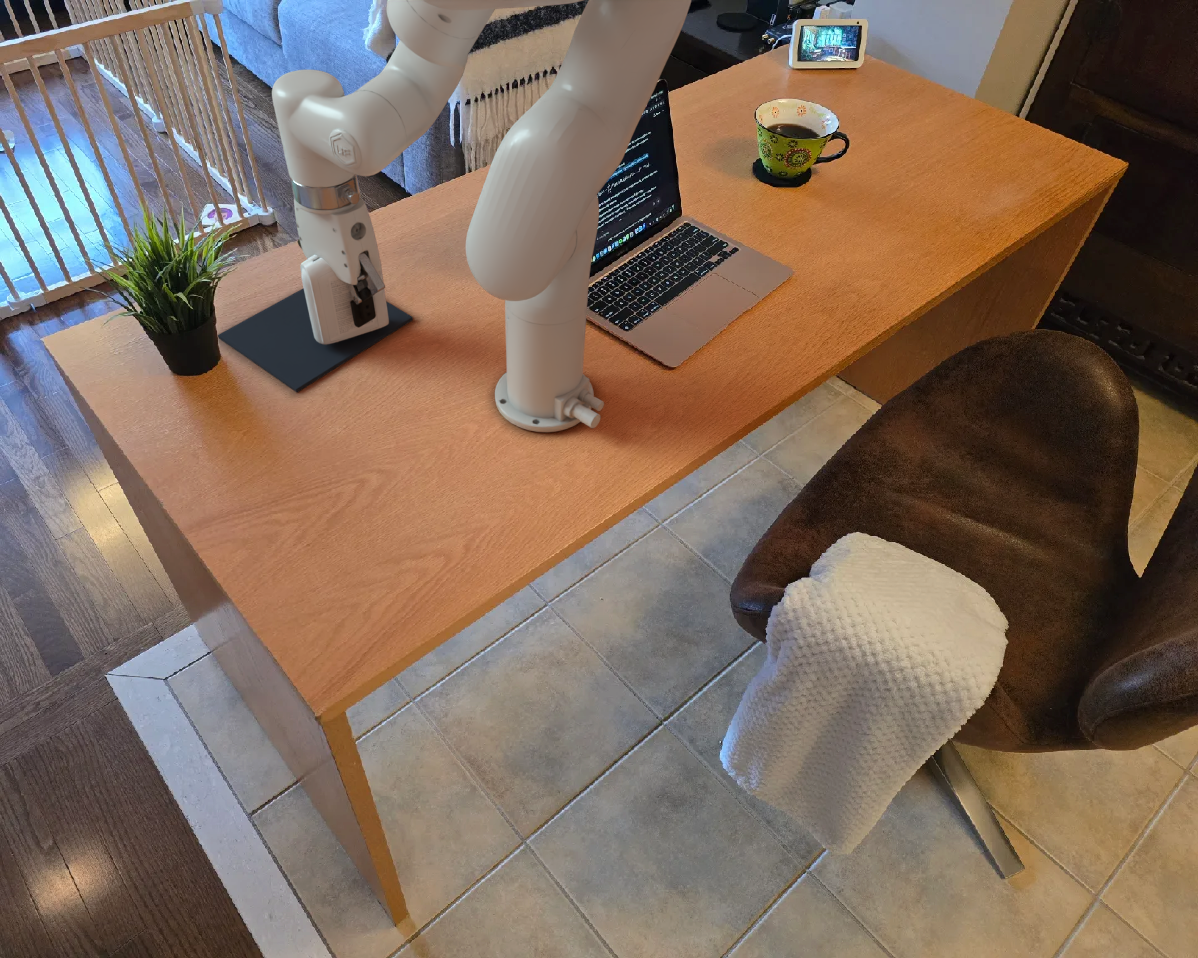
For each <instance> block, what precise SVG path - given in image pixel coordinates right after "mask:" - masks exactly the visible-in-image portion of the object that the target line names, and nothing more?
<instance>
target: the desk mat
mask: <svg viewBox="0 0 1198 958" xmlns="http://www.w3.org/2000/svg"><path fill="white" fill-rule="evenodd" d="M386 304H387V311H388V318H389V324H388V325H386V326H384V327H382V328H379V329H376V330H373V331H370V332H367V333H364V334H361V335H358V336H354V337H351V338H348V339H345V340H342V341H339V342H335V343H331V344H321V343H319V342H317V341H316V339H315V338H314V334H313V329H312V325H311V320H310V315H309V311H308V306H307V301H306V297H305V292H304V287H303V288H301V289H300V290H298V291H297V290H296V292H294V293H292V294H290V295H288V296H287V297H285V298H283V299H281V300H279V301H278V302H275V303H274V304H272V305H270V306H269V307H266V308H265V309H262V310H261V311H259V312H257V313H255V314H254V315H252V316H249V317H248V318H246V319H244V320H243V321H241V322H239V323H237V324H235V325H234V326H232V327H229V328H228V329H226V330H224V331H222V332H221V333H219V334H217V337H218V339H219V340H220V341H222V342H223V343H225V344H226V345H227V346H228V347H230V348H232V349H233V350H235V351H236V352H238V353H239V354H241V355H242V356H244V357H245V358H246V359H248V360H249V361H251V362H252V363H253V364H255V365H256V366H258V367H259V368H261V369H262V370H264V371H265V372H266V373H268V374H270V375H271V376H272V377H273V378H275V379H277V380H278V381H280V383H282V384H284V385H285V386H286V387H288V388H289V389H291V390H292V391H294V392H295V393H299V392H301V391H302V390H303V389H305V388H307V387H308V386H310V385H312V384H313V383H315V382H317V381H318V380H321V378H323V377H324V376H326V375H328V374H329V373H331V372H333V371H334V370H336V369H337V368H339V367H341V366H342V365H344V364H345V363H347V362H349V361H350V360H352V359H354V358H355V357H356V356H358V355H360V354H361V353H363V352H364V351H366V350H368V349H369V348H371V347H372V346H374V345H376V344H377V343H379V342H380V341H382V340H384V339H385V338H387V337H388V336H390V335H391V334H394V333H395V332H397V331H398V330H400V329H402V328H403V327H405V326H406V325H408V324H410V323H411V322H412V321H414V316H412V315H410V314H408V313H407V312H406V311H404V310H402V309H400V308H399V307H397V306H396V305H394V304H392V303H390V302H388V301H387V300H386Z"/></svg>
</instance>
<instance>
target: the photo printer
mask: <svg viewBox="0 0 1198 958" xmlns="http://www.w3.org/2000/svg"><path fill="white" fill-rule="evenodd" d="M380 261H381V262H382V260H381V259H380ZM299 267H300V274H301V276H300V277H301V282H302V287H303V288H304V292H305V297H306V301H307V306H308V311H309V315H310V320H311V325H312V329H313V334H314V338H315V339H316V341H317V342H319V343H321V344H331V343H335V342H339V341H342V340H345V339H348V338H351V337H354V336H358V335H361V334H364V333H367V332H370V331H373V330H376V329H379V328H382V327H384V326H386V325H388V324H389V318H388V311H387V304H386V301H387V298H386V290H385V289H386V288H384V289H382V290H381V291H379V292H377V293H376V294H375V295H373V301H374V307H375V313H376V317H375V318H374V319H373V320H371V321H369V322H368V323H366V324H364V325H363V326H361V327H359V328H358V327H356V326H355V325H354V321H353V315H352V310H351V305H350V302H351V301H352V300H353V298H352V296H351V293H350V291H349V288H348V286H347V283H346V282H344V281H342V280H340V279H338V278H337V277H336V275H335V273H334V272H333V270H332V269H331V267H330V266H329V265H328V263H327V262H326V261H325V260H324V259H322V258H319V257H318V256H317V255H314V256H312V257H310V258H308V259H307V258H306V260H304V261H303V262H301V263H300V265H299ZM360 273H361V271H360ZM378 274H379V276H380V278H381V279H382V281H383V283H384V284H385V282H384V275H383V267H382V266H381V271H380V272H378ZM357 288H358V291H361V290H362V289H363V288H365V287H364V284H363V282H362V281H360V282H358V284H357Z"/></svg>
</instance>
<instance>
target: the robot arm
mask: <svg viewBox="0 0 1198 958" xmlns="http://www.w3.org/2000/svg"><path fill="white" fill-rule="evenodd" d="M583 1H584V0H387V1H386V16H387V19H388V22H389V24H390V27H391V29H392V31H393V33H394V34H395V36H396V37H397V38H398V39H399V41H398V43H397V45H396V47H395V49H394V50H393V52H392V54H391V57H390V58H389V59H388V62H387V63H386V65H385V66H384V68H383V69H382V71H381V72H380V73H378V74H377V75H376V76H374V77H373V78H371V79H370V80H368V81H367V82H366V83H364V84H363V85H362V86H361V87H359V88H357V89H356V90H354V91H353V92H351V93H349V94H347V95H345V90H344V88H343V85H342V83H341V82H340V81H339V80H338V79H337V78H336V76H334V75H332V74H330V73H328V72H326V71H324V70H320V69H319V70H318V69H298V70H293V71H289V72H287V73H284V74H282V75H281V76H280V77H278V78H277V79H276V80H275V81H274V83H273V85H272V89H271V98H272V104H273V109H274V113H275V119H276V122H277V126H278V131H279V135H280V140H281V145H282V149H283V154H284V158H285V163H286V167H287V172H288V177H289V181H290V186H291V191H292V195H293V205H294V206H293V207H294V217H295V224H296V229H297V235H298V240H297V245H298V247H299V248H300V250H301V251H302V253H303V256H305V258H306V260H307V259H308V258H310V257H312V256H314V255H317V256H318V257H319V258H322V259H324V260H325V261H326V262H327V263H328V265H329V266H330V267H331V269H332V270H333V272H334V273H335V275H336V277H337V278H338V279H340V280H342V281H344V282H346V283H347V286H348V288H349V291H350V293H351V296H352V298H353V300H352V301H351V302H350V305H351V310H352V315H353V321H354V325H355V326H356V327H358V328H359V327H361V326H363V325H364V324H366V323H368V322H369V321H371V320H373V319H374V318H375V317H376V313H375V307H374V301H373V295H375V294H376V293H377V292H379V291H381V290H382V289H386V285H385V282H384V283H383V281H384V280H383V281H382V279H381V278H380V276H379V274H378V272H380V271H381V267H382V260H381V256H380V251H379V247H378V246H379V245H378V242H377V238H376V233H375V230H374V225H373V222H372V219H371V216H370V212H369V210H368V208H367V204H366V202H365V200H363V198H361V189H360V183H359V177H358V176H360V177H370V176H374V175H376V174H378V173H380V172H381V171H383V170H384V169H385V168H386V167H388V166H389V165H390V164H391V163H393V161H395V160H396V159H397V158H398V157H399V156H401V155H402V153H404V152H405V151H406V150H407V149H408V148H410V147H411V146H412V145H413V144H414V143H416V141H417V140H419V139H421V138H422V136H424V135H425V134H426V133H427V132H428V131H429V130H430V129H431V127H432V126H433V125H434V124H435V122H436V120H437V118H439V116H440V115H441V113H442V111H443V110H444V108H446V107H445V106H447V103H448V102H449V101H450V99H451V97H452V96H453V95H454V92H455V90H456V89H457V87H458V85H459V84H460V82H461V80H462V78H463V76H464V73H465V69H466V66H467V63H468V60H469V58H468V57H469V53H470V51H471V50H472V48H473V46H474V45H475V43H476V42H477V40H478V39H479V36H480V35H481V33H482V32H483V30H484V29H485V27H486V25H487V24H488V22H489V21H490V19H491V17H492V15H493V14H494V12H495V11H496V10H500V9H501V10H502V9H516V8H517V9H518V8H531V7H534V8H535V7H547V6H549V7H550V6H559V5H569V4H574V3H579V2H583ZM691 3H692V0H588V1H587V4H586V5H585V7H584V8H583V11H582V13H581V15H580V17H579V19H578V21H577V24H576V26H575V29H574V32H573V34H572V37H571V40H570V43H569V46H568V48H567V51H566V53H565V55H564V57H563V61H562V63H561V65H560V68H559V70H558V72H557V74H556V76H555V77H554V80H553V82H552V83H551V86H549V88H548V89H547V90H546V91H545V92H544V93H543V94H542V95H541V96H540V98H538V99H537V100H536V102H534V104H533V105H532V106H531V107H530V108H529V109H527V110H526V111H525V112H524V113H523V114H522V115H521V116H520V117H519V118H518V119H517V120H516V122H514V123H513V125H512V126H511V127H510V129H508V130H507V133H506V134H505V136H504V137H503V139H502V140H501V142H500V144H499V146H498V147H497V150H496V152H495V153H494V156H493V158H492V162H491V164H490V166H489V169H488V172H487V175H486V178H485V181H484V183H483V186H482V188H481V192H480V194H479V197H478V200H477V202H476V206H475V208H474V211H473V215H472V217H471V219H470V222H469V225H468V229H467V232H466V238H465V256H466V262H467V264H468V267H469V271H470V272H471V274H472V276H473V278H474V280H475V281H476V282H477V284H478V286H480V287H481V289H483V291H485V292H486V293H488V294H489V295H491V296H493V297H494V298H496V299H500V300H502V301H504V318H505V319H504V325H505V359H506V360H505V361H506V372H505V373H504V374H502V376H500V378H499V379H498V381H497V383H496V385H495V389H494V401H495V405H496V408H497V410H498V411H499V414H501V416H502V417H503V418H504V419H505V420H507V421H508V422H509V423H510V424H512V425H514V426H516V427H518V428H520V429H523V430H527V431H532V432H536V433H554V432H561V431H563V430H567V429H570V428H572V427H574V426H577V424H580V423H582V424H584V425H585V426H587V427H588V428H591V429H595V428H596V427H597V426H598V425H599V424H600V421H601V418H602V417H601V414H599V413H597V412H600V411H602V409H603V408H604V407H605V402H604V401H603V400H602V399H600V398H598V397H596V396H595V395H594V394H595V393H594V388H593V385H592V382H591V381H590V380H591V379H590V378H589V377H587V376H586V375H585V374H584V363H585V362H584V361H585V346H586V331H587V330H586V329H587V315H588V314H587V313H588V312H587V311H588V300H589V287H590V286H589V285H590V273H591V266H592V259H593V254H594V249H595V246H596V245H595V244H596V238H597V235H598V234H597V233H598V229H599V228H598V227H599V220H600V219H599V218H600V205H599V198H598V194H599V193H600V191H601V190H602V189H603V188H604V186H605V184H606V183H607V182H608V181H609V179H611V177H612V176H613V174H614V173H615V172H616V170H617V168H618V167H619V166H620V165H621V163H622V161H623V160H624V157H625V154H626V152H627V149H628V147H629V145H630V142H631V140H632V137H633V135H634V133H635V131H636V128H637V126H638V124H639V122H640V120H641V118H642V116H643V114H644V112H645V109H646V108H647V105H648V103H649V101H650V99H651V98H652V95H653V93H654V91H655V90H656V86H657V85H658V81H659V80H660V77H661V75H662V72H663V71H664V68H665V66H666V64H667V62H668V60H669V58H670V55H671V53H672V51H673V49H674V47H675V45H676V42H677V40H678V38H679V36H680V33H681V30H682V29H683V26H684V24H685V21H686V19H687V16H688V12H689V10H690V7H691ZM380 260H381V261H380ZM360 271H361V273H360ZM360 281H362V282H363V284H364V287H365V288H363V289H362V290H361V291H358V288H357V284H358V282H360ZM592 409H593V410H592ZM596 411H597V412H596Z"/></svg>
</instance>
